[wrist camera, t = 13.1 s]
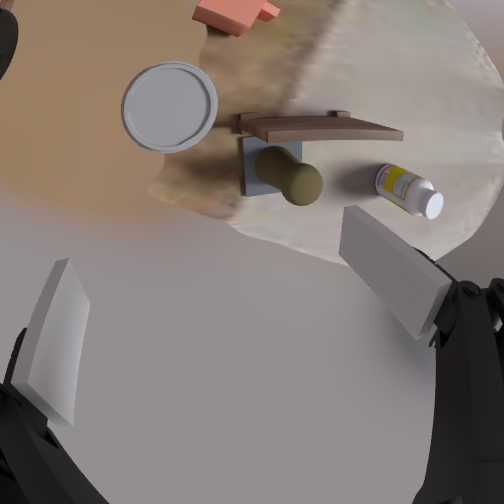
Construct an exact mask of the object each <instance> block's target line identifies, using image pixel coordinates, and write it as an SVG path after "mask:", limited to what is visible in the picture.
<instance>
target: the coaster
mask: <svg viewBox="0 0 504 504" xmlns="http://www.w3.org/2000/svg"><path fill="white" fill-rule="evenodd" d="M270 146H281V147H284V148H285V149H287V150H288V151H289V152H290V153H291V154H293V155H294V156H295V157H296V158H297V159H298V160H299V161H300V162H301V163H302V141H295V142H280V143H267V142H265V141H263V140H261V139H259V138H257V137H255V136H249V137H242V150H243V166H244V182H245V196H246V197H250V196H256V195H263V194H270V193H277V192H281V190H279V189H277V188H275V187H273V186H271V185H269V184H267V183H265V182H263V181H262V180H261V179H260V178H259V177H258V176H257V173H256V170H255V163H256V160H257V157H258V156H259V154H260V153H261V152H262V151H263V150H264V149H266V148H268V147H270Z"/></svg>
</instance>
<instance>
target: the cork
mask: <svg viewBox="0 0 504 504" xmlns="http://www.w3.org/2000/svg"><path fill="white" fill-rule="evenodd" d="M255 170H256V173H257V176H258V177H259V178H260V179H261V180H262V181H263V182H265V183H267V184H269V185H271V186H273V187H275V188H277V189H279V190H281V192H282V195H283V196H284V197H285V199H286V200H287V201H289V202H290V203H292V204H294V205H298V206H305V205H308V204H311V203H313V202H314V201H315V200H317V199H318V197H319V196H320V194H321V191H322V187H323V181H322V176H321V175H320V173H319V172H318V170H317V169H316V168H314V167H313V166H311V165H309V164H305V163H301V162H300V161H299V160H298V159H297V158H296V157H295V156H294V155H293V154H291V153H290V152H289V151H288V150H287V149H285V148H284V147H281V146H270V147H268V148H266V149H264V150H263V151H262V152H261V153H260V154H259V156H258V157H257V160H256V163H255Z"/></svg>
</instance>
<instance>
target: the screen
mask: <svg viewBox="0 0 504 504" xmlns="http://www.w3.org/2000/svg"><path fill="white" fill-rule="evenodd" d="M237 126H238V129H240V134H241V135H249V134H251V135H253V136H255V137H257V138H259V139H261V140H263V141H265V142H267V143H280V142H295V141H315V140H394V141H403V133H404V132H402V131H399V130H396V129H392V128H389V127H385V126H382V125H378V124H374V123H371V122H367V121H363V120H359V119H354V118H350V112H345V111H334V117H333V116H297V117H270V118H258V113H257V112H252V113H239V120H237Z"/></svg>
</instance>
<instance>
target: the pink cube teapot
mask: <svg viewBox="0 0 504 504" xmlns="http://www.w3.org/2000/svg"><path fill="white" fill-rule="evenodd" d="M279 11H280V9H278V8H276V7H275V6H273V5H272V4H270V3H268V2H267V0H200V2H199V4H198V5H197V7H196V9H195V12H194V15H193V17H192V19H193V20H196V21H199V22H201V23H204V24H207V25H209V26H212V27H214V28H217V29H219V30H222V31H224V32H227V33H229V34H231V35H234V36H236V37H239V36H240V35H241V34H243V33H244V32H245V31H247V30H248V29H249V28H250V27H251V25H252V24H253V22H254V20H255V19H256V18H257V19H260V20H262V21H265V22H268V21H270V20H271V19H273V18H275V17H276V16H277V15H278V13H279Z"/></svg>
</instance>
